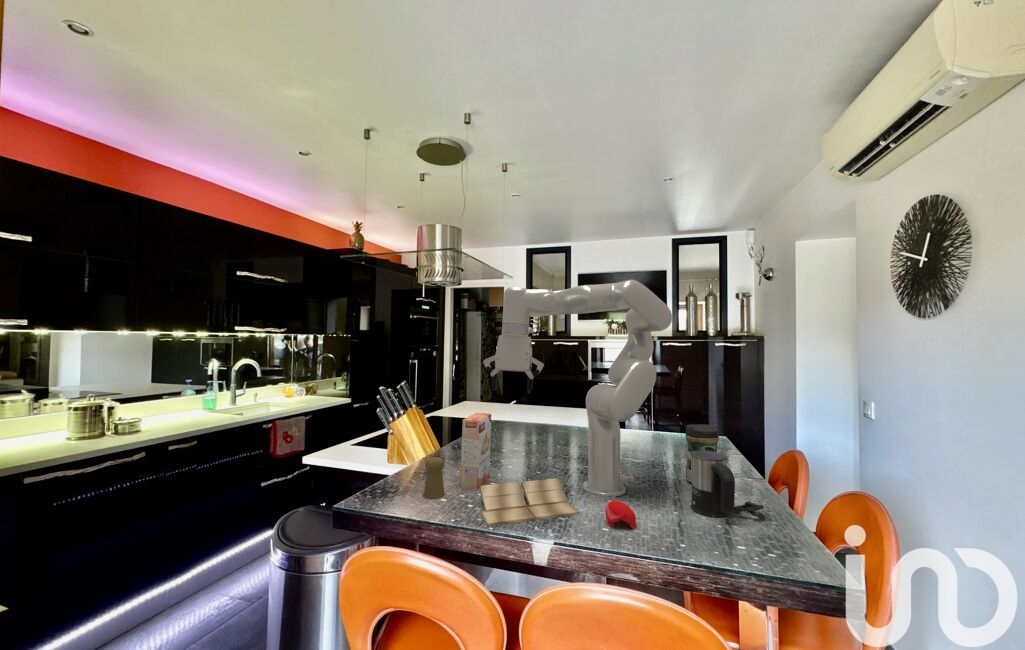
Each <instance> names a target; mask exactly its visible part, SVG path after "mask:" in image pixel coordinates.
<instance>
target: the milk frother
mask: <svg viewBox="0 0 1025 650" xmlns="http://www.w3.org/2000/svg"><path fill="white" fill-rule="evenodd" d="M690 455H691V479H692V484H691V504H690V508H691V509H692V511H694V512H696V513H699V514H701V515H703V516H709V517H715V518H716V517H717V518H719V517H723V518H724V517H727V516H728V515H729V514H732V513H740V512H741V513H742V512H747V513H748V514H749V513H753V512H756V511H760V510H763V509H764V505H762V504H756V503H754V502H751V501H745V502H744V503H743V504H741V505H735V499H736V497H735V493H736V490H735V489H736V487H735V486H736V480H735V476H734V473H733V471H732V470H731V469H730V467H728V466H727V465H728V464H727V459H728V458H729V457H728V456H727V455H726V454H724V453H721V452H718V451H717V452H711V451H692V452H690Z"/></svg>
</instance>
